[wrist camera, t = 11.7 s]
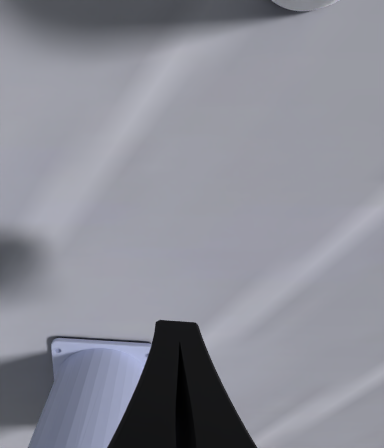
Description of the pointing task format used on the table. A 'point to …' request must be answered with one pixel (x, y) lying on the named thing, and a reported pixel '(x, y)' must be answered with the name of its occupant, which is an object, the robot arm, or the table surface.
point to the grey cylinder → (304, 4)
